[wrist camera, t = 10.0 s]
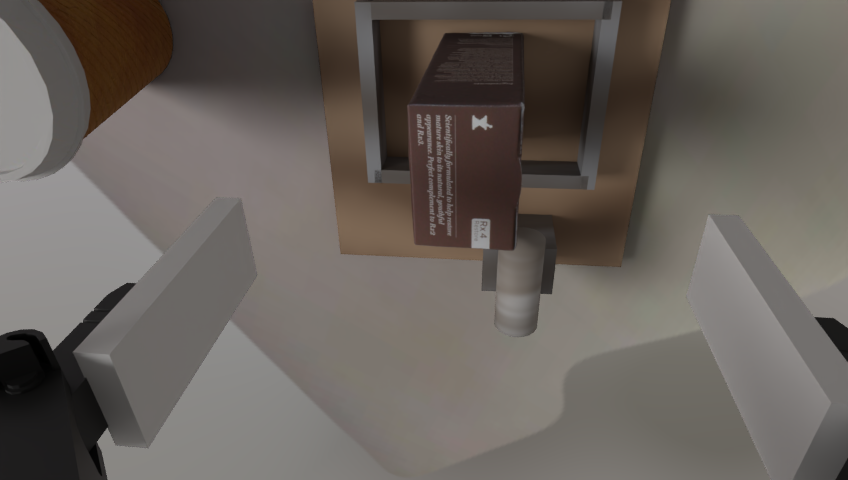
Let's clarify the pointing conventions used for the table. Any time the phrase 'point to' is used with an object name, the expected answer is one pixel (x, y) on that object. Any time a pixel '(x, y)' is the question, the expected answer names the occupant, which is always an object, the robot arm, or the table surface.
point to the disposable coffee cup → (70, 74)
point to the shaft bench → (542, 133)
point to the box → (468, 142)
